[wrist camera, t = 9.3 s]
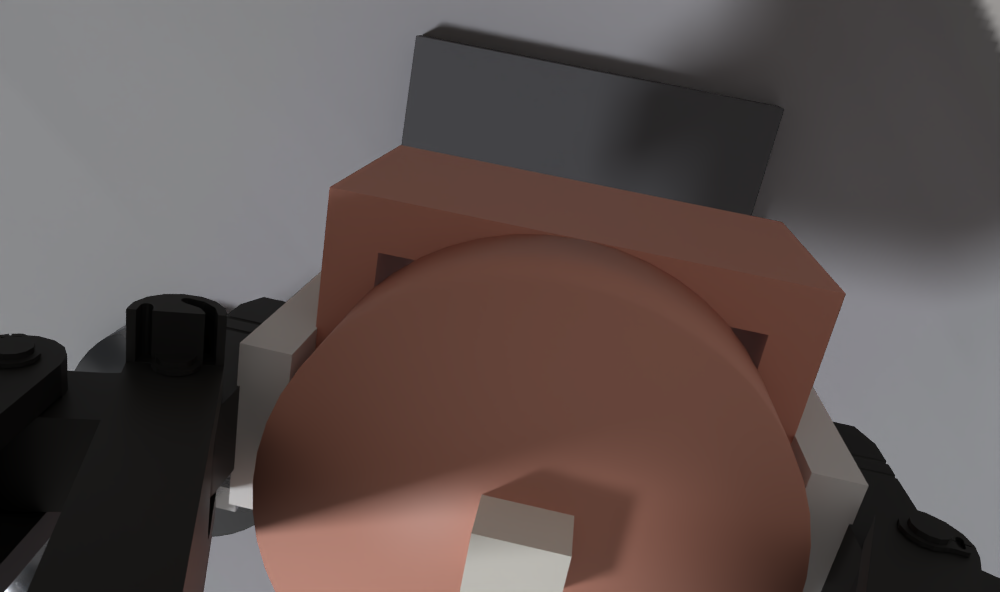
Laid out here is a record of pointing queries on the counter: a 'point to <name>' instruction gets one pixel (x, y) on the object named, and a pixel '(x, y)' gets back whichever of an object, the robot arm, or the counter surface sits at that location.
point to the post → (227, 516)
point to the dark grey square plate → (588, 125)
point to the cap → (543, 392)
